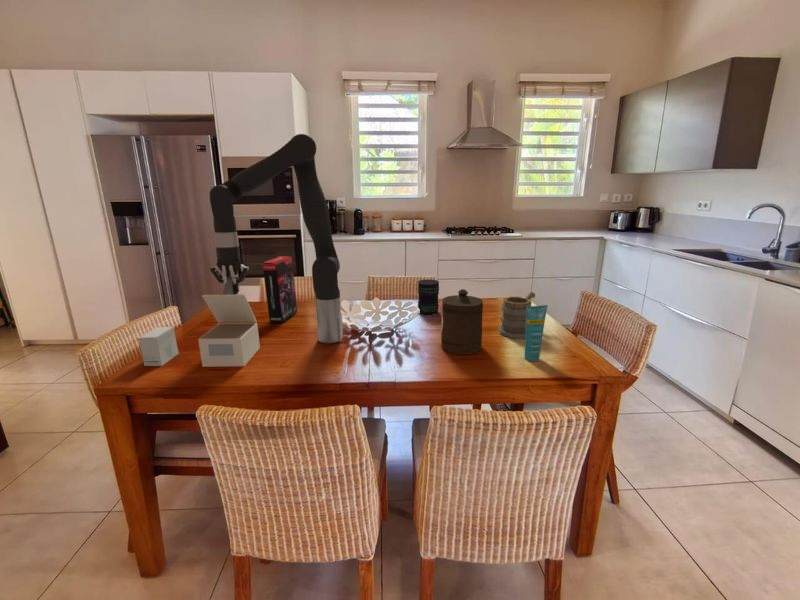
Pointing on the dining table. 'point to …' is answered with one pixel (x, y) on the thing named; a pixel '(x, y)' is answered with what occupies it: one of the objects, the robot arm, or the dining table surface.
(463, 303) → the wooden container
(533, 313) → the tube
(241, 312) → the flap
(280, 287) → the graphics card box
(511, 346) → the dining table surface
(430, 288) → the storage jar
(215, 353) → the carton
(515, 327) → the tankard
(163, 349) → the skincare box
